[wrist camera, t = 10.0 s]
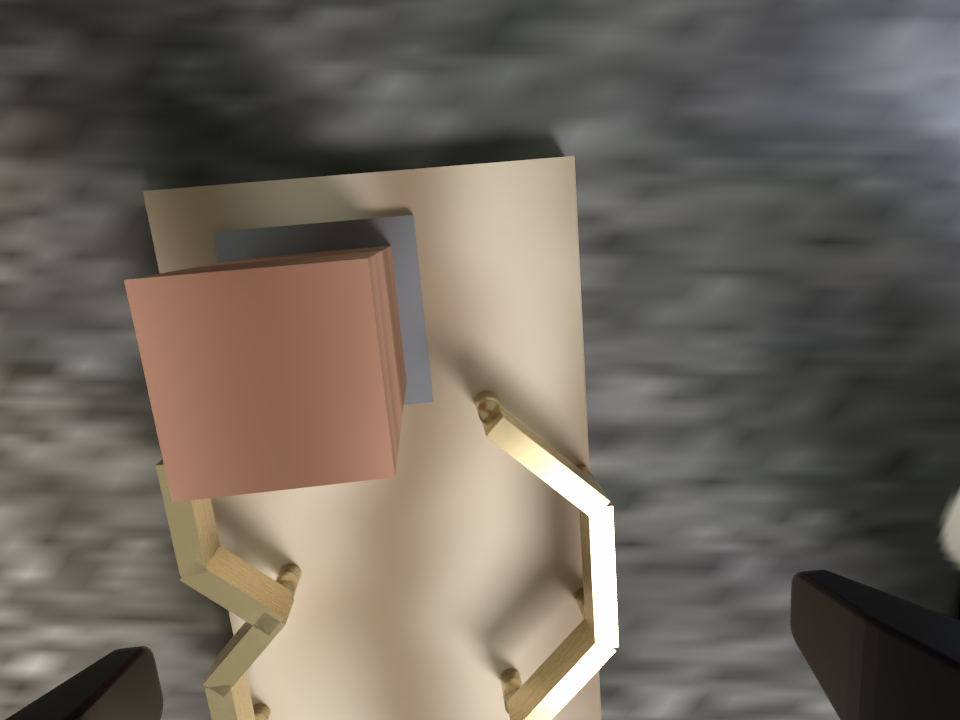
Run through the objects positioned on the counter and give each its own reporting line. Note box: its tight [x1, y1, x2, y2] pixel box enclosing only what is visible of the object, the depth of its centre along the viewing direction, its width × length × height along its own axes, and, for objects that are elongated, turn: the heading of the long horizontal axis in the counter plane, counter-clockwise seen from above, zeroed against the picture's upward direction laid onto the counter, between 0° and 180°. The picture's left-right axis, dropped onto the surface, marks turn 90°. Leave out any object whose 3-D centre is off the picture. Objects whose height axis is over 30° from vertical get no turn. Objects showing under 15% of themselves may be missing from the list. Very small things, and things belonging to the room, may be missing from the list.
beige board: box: [143, 156, 601, 720], centre depth 20 cm, size 12×24×1 cm, turn 5°
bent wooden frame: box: [156, 390, 619, 720], centre depth 18 cm, size 12×11×2 cm
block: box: [124, 246, 407, 502], centre depth 14 cm, size 4×4×7 cm
